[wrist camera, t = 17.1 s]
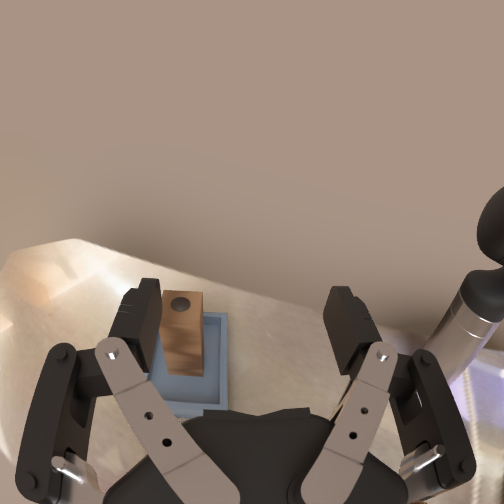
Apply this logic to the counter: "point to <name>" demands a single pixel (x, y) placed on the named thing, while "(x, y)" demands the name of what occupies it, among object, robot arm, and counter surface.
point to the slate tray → (192, 387)
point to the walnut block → (183, 332)
